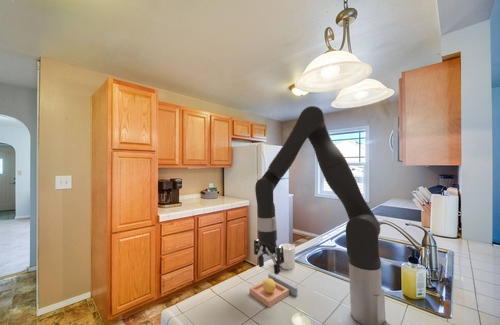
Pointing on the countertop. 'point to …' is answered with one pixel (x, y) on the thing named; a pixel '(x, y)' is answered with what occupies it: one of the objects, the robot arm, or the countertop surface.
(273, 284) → the ball
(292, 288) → the fence
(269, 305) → the pink square tray
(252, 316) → the countertop surface
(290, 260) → the white cup
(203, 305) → the countertop surface
